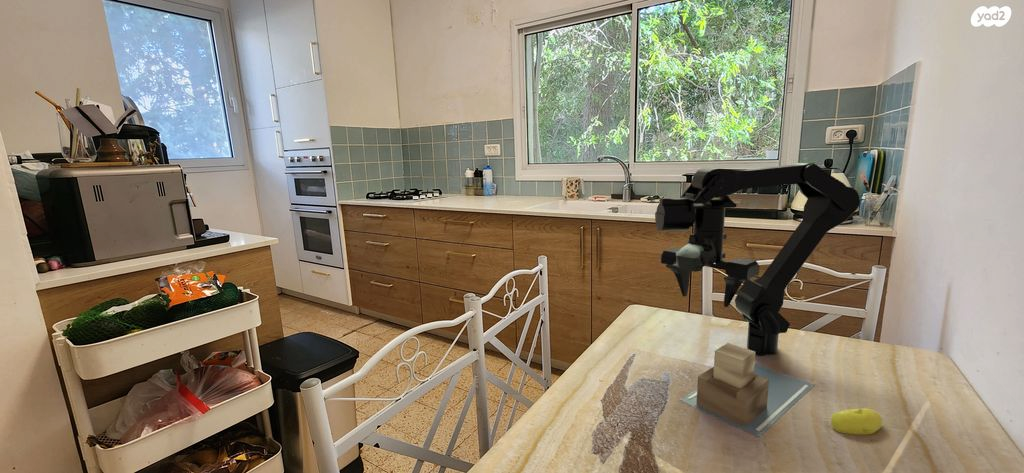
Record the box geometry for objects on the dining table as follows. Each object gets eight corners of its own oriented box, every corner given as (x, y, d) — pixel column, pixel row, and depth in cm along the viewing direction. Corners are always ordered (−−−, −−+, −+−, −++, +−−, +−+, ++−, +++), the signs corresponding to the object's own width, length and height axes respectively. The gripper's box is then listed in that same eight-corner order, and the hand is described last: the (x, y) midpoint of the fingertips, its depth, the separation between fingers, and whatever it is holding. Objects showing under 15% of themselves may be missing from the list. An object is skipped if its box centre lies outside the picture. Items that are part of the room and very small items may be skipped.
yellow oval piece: (821, 426, 68) (823, 403, 67) (868, 422, 68) (871, 400, 68) (843, 443, 64) (846, 419, 63) (893, 438, 64) (896, 415, 64)
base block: (719, 388, 78) (721, 361, 77) (766, 407, 72) (769, 379, 71) (696, 404, 73) (697, 376, 72) (744, 426, 67) (746, 396, 66)
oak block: (726, 374, 75) (728, 342, 74) (752, 384, 71) (755, 351, 70) (712, 383, 72) (714, 350, 71) (740, 394, 68) (742, 360, 67)
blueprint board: (741, 362, 88) (742, 358, 88) (814, 388, 78) (815, 383, 78) (679, 404, 75) (679, 399, 74) (758, 441, 64) (758, 436, 64)
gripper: (646, 229, 90) (644, 299, 93) (735, 241, 76) (730, 323, 79) (675, 222, 97) (673, 288, 100) (763, 232, 82) (757, 309, 85)
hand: (704, 301), depth 91 cm, fingers open, 9 cm apart
